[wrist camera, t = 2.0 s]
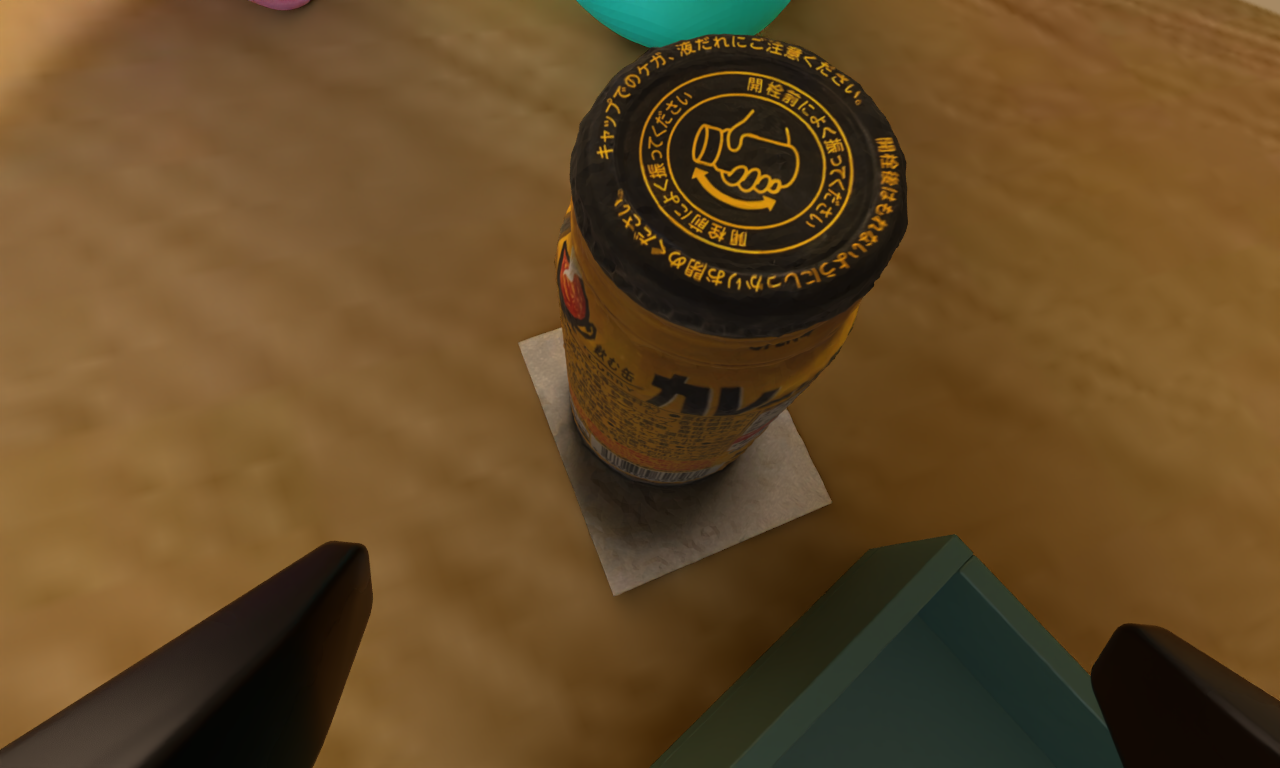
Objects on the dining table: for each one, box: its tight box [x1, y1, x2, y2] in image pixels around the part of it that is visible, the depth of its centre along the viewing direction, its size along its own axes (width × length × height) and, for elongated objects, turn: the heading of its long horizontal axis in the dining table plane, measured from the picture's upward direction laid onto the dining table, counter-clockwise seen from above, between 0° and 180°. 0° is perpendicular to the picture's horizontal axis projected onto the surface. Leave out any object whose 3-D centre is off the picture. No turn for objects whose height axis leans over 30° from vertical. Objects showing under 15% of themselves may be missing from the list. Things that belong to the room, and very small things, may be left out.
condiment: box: [518, 34, 908, 596], centre depth 15 cm, size 7×8×12 cm
